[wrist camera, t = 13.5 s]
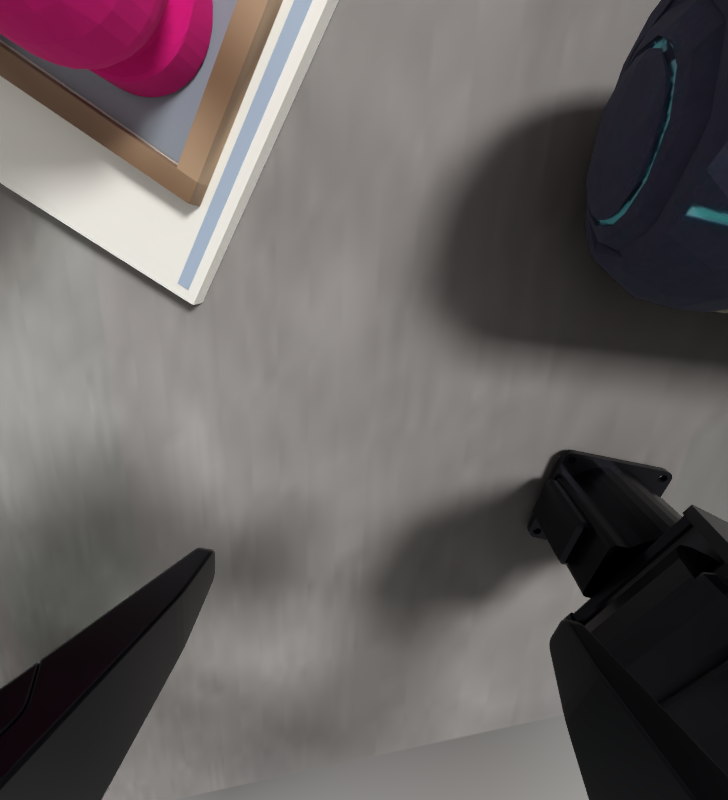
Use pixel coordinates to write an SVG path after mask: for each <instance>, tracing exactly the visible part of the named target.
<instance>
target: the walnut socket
mask: <svg viewBox="0 0 728 800" xmlns="http://www.w3.org/2000/svg"><path fill="white" fill-rule="evenodd" d="M282 2H283V0H237V3H236V5H235V8H234V11H233V14H232V17H231V19H230V22H229V25H228V28H227V30H226V33H225V36H224V39H223V41H222V44H221V47H220V50H219V52H218V55H217V58H216V61H215V63H214V66H213V69H212V72H211V74H210V77H209V80H208V83H207V85H206V88H205V91H204V94H203V97H202V99H201V102H200V105H199V108H198V110H197V113H196V116H195V119H194V121H193V124H192V127H191V130H190V132H189V135H188V138H187V141H186V143H185V146H184V149H183V152H182V154H181V157H180V160H179V163H178V165H177V164H175V163H174V162H173V161H171V160H170V159H168V158H167V157H165V156H164V155H162V154H161V153H160V152H158V151H157V150H155V149H154V148H152V147H151V146H149V145H148V144H147V143H145V142H144V141H142V140H141V139H139V138H138V137H137V136H135V135H134V134H132V133H131V132H129V131H128V130H126V129H125V128H124V127H122V126H121V125H119V124H118V123H116V122H115V121H114V120H112V119H111V118H109V117H108V116H106V115H105V114H103V113H102V112H101V111H99V110H98V109H96V108H95V107H93V106H92V105H90V104H89V103H88V102H86V101H85V100H83V99H82V98H80V97H79V96H78V95H76V94H75V93H73V92H72V91H70V90H69V89H67V88H66V87H65V86H63V85H62V84H60V83H59V82H57V81H56V80H54V79H53V78H52V77H50V76H49V75H47V74H46V73H44V72H43V71H42V70H40V69H39V68H37V67H36V66H34V65H33V64H31V63H30V62H29V61H27V60H26V59H24V58H23V57H21V56H20V55H19V54H17V53H16V52H14V51H13V50H11V49H10V48H8V47H7V46H6V45H4V44H3V43H1V42H0V76H1V77H3V78H4V79H6V80H7V81H9V82H10V83H12V84H13V85H15V86H16V87H18V88H19V89H21V90H22V91H23V92H25V93H26V94H28V95H29V96H31V97H32V98H34V99H35V100H37V101H38V102H40V103H41V104H43V105H44V106H46V107H47V108H48V109H50V110H51V111H53V112H54V113H56V114H57V115H59V116H60V117H62V118H63V119H65V120H66V121H68V122H69V123H71V124H72V125H73V126H75V127H76V128H78V129H79V130H81V131H82V132H84V133H85V134H87V135H88V136H90V137H91V138H93V139H94V140H96V141H97V142H98V143H100V144H101V145H103V146H104V147H106V148H107V149H109V150H110V151H112V152H113V153H115V154H116V155H118V156H119V157H121V158H122V159H123V160H125V161H126V162H128V163H129V164H131V165H132V166H134V167H135V168H137V169H138V170H140V171H141V172H143V173H144V174H146V175H147V176H148V177H150V178H151V179H153V180H154V181H156V182H157V183H159V184H160V185H162V186H163V187H165V188H166V189H168V190H169V191H171V192H172V193H173V194H175V195H176V196H178V197H179V198H181V199H182V200H184V201H185V202H187V203H188V204H191V205H195V206H199V207H200V206H201V203H202V201H203V198H204V196H205V193H206V191H207V188H208V186H209V183H210V181H211V178H212V176H213V173H214V171H215V168H216V166H217V163H218V161H219V158H220V156H221V153H222V151H223V148H224V146H225V144H226V141H227V139H228V136H229V134H230V131H231V129H232V126H233V124H234V121H235V119H236V116H237V114H238V111H239V109H240V106H241V104H242V101H243V99H244V96H245V94H246V91H247V89H248V86H249V84H250V81H251V79H252V76H253V74H254V71H255V69H256V66H257V64H258V62H259V59H260V57H261V54H262V52H263V49H264V47H265V44H266V42H267V39H268V37H269V34H270V32H271V29H272V27H273V24H274V22H275V19H276V17H277V14H278V12H279V9H280V7H281V4H282Z"/></svg>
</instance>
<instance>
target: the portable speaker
mask: <svg viewBox="0 0 728 800" xmlns="http://www.w3.org/2000/svg"><path fill="white" fill-rule="evenodd" d="M586 188H587V208H586V221H585V233H586V237H587V241H588V245H589V249H590V253H591V257H592V258H593V259H594V260H595V261H596V262H597V263H598V264H599V265H600V266H601V267H602V268H603V269H604V270H605V271H606V272H607V273H608V274H609V275H610V276H611V277H612V278H613V279H614V280H615V281H617V282H618V283H619V284H620V285H621V286H622V287H623V288H624V289H625V290H626V291H627V292H628V293H629V294H630V295H631V296H633V297H636V298H639V299H643V300H646V301H649V302H653V303H656V304H659V305H663V306H666V307H669V308H673V309H682V310H690V311H699V312H720V313H728V0H661V1H660V2H659V4H658V5H657V6H656V8H655V9H654V10H653V12H652V13H651V15H650V16H649V18H648V20H647V22H646V24H645V26H644V27H643V29H642V31H641V33H640V35H639V37H638V39H637V41H636V42H635V44H634V46H633V48H632V50H631V52H630V54H629V55H628V57H627V59H626V61H625V63H624V65H623V68H622V70H621V73H620V76H619V79H618V82H617V85H616V88H615V90H614V92H613V94H612V96H611V97H610V99H609V101H608V103H607V105H606V107H605V109H604V112H603V116H602V119H601V123H600V126H599V130H598V134H597V137H596V141H595V145H594V149H593V153H592V157H591V161H590V166H589V170H588V174H587V178H586Z"/></svg>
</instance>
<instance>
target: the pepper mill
mask: <svg viewBox="0 0 728 800" xmlns="http://www.w3.org/2000/svg"><path fill="white" fill-rule="evenodd" d="M212 26H213V1H212V0H0V34H1V35H3V36H4V37H6V38H7V39H9V40H10V41H12V42H14V43H15V44H17V45H18V46H20V47H22V48H23V49H25V50H26V51H28V52H30V53H31V54H33V55H35V56H37V57H39V58H42V59H44V60H46V61H49V62H51V63H54V64H56V65H60V66H64V67H68V68H72V69H89V70H90V71H92V72H93V73H95V74H97V75H98V76H100V77H102V78H103V79H105V80H107V81H108V82H110V83H111V84H113V85H115V86H116V87H118V88H120V89H122V90H124V91H126V92H128V93H131V94H133V95H137V96H142V97H161V96H164V95H167V94H171V93H174V92H176V91H177V90H179V89H180V88H182V87H183V86H185V85H186V84H187V83H188V82H189V81H190V80H191V79H192V78H193V77H194V76H195V74H196V73H197V71H198V69H199V67H200V66H201V64H202V62H203V60H204V58H205V56H206V55H207V51H208V47H209V44H210V39H211V33H212Z"/></svg>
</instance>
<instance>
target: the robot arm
mask: <svg viewBox="0 0 728 800" xmlns="http://www.w3.org/2000/svg"><path fill="white" fill-rule="evenodd" d="M570 457H573V458H572V460H570V461H567V460H568V459H569V458H570ZM660 476H662V477H660ZM659 477H660V478H659ZM671 479H672V475H671V474H670V473H669V472H668V471H667V470H666V469H663V468H660V467H655V466H650V465H645V464H640V463H634V462H629V461H624V460H619V459H614V458H609V457H604V456H599V455H594V454H589V453H584V452H579V451H574V450H567V451H564V452H563V453H562V454H561V455H560V458H559V460H558V462H557V464H556V466H555V468H554V470H553V472H552V475H551V477H550V479H549V480H548V481H547V482H546V484H545V486H544V488H543V490H542V493H541V495H540V497H539V499H538V501H537V503H536V505H535V508H534V510H533V515H532V517H531V519H530V521H529V523H528V526H527V529H528V531H529V533H530V535H531V536H533V537H537V538H542V539H547V540H548V541H549V543H550V545H551V547H552V549H553V551H554V553H555V554H556V556H557V558H558V560H559V561H560V563H561V564H565V565H567V567H568V569H569V570H570V572H571V574H572V576H573V578H574V579H575V581H576V583H577V585H578V586H579V588H580V590H581V592H582V594H583V595H584V596H585V597H589V598H590V599H589V600H588V601H587V602H586V603H585V604H584V605H583V606H581V607H580V608H579V609H578V610H577V611H576V612H575V613H570V614H569V615H568V616H567V617H566V618H564V620H562V621H561V622H560V624H559V625H558V627H557V629H556V630H555V632H554V634H553V635H552V637H551V639H550V652H551V657H552V662H553V666H554V671H555V676H556V680H557V685H558V690H559V694H560V699H561V704H562V708H563V713H564V717H565V721H566V724H567V728H568V731H569V735H570V738H571V742H572V745H573V748H574V752H575V754H576V758H577V761H578V765H579V768H580V771H581V775H582V778H583V781H584V784H585V787H586V791H587V794H588V797H589V800H728V522H726V521H724V520H722V519H720V518H718V517H716V516H714V515H712V514H710V513H708V512H706V511H704V510H702V509H700V508H698V507H696V506H694V505H691V506H690V507H689V508H688V509H687V510H685V511H684V512H683V514H684V516H683V517H682V516H681V515H679V514H678V513H677V512H676V511H675V510H674V509H673V508H672V507H671V506H670V505H668V504H667V503H666V502H665V501H664V500H663V499H662V498H661V496H662V494H663V492H664V491H665V489H666V488H667V486H668V485H669V483H670V481H671ZM536 528H538V529H536ZM534 529H536V530H534ZM214 574H215V552H214V551H213V550H211V549H206V548H197V549H195V550H194V551H192V552H191V553H189V554H188V555H187V556H185V557H184V558H183V559H181V560H180V561H178V562H177V563H176V564H174V565H173V566H171V567H170V568H169V569H167V570H166V571H164V572H163V573H162V574H160V575H159V576H157V577H156V578H155V579H153V580H152V581H150V582H149V583H148V584H146V585H145V586H143V587H142V588H141V589H139V590H138V591H136V592H135V593H134V594H132V595H131V596H129V597H128V598H127V599H125V600H124V601H123V602H121V603H120V604H118V605H117V606H116V607H114V608H113V609H111V610H110V611H109V612H107V613H106V614H104V615H103V616H102V617H100V618H99V619H97V620H96V621H95V622H93V623H92V624H90V625H89V626H88V627H86V628H85V629H83V630H82V631H81V632H79V633H78V634H76V635H75V636H74V637H72V638H71V639H69V640H68V641H67V642H65V643H64V644H62V645H61V646H60V647H58V648H57V649H56V650H54V651H53V652H51V653H50V654H49V655H47V656H46V657H44V658H43V659H42V660H41V661H40V664H39V663H36V664H34V665H33V666H32V667H30V668H29V669H27V670H26V671H25V672H23V673H22V674H20V675H19V676H18V677H16V678H15V679H13V680H12V681H10V682H9V683H8V684H6V685H5V686H3V687H2V688H0V800H102V798H103V796H104V794H105V792H106V791H107V789H108V787H109V785H110V783H111V781H112V780H113V778H114V776H115V774H116V772H117V770H118V768H119V767H120V765H121V763H122V761H123V759H124V757H125V756H126V754H127V752H128V750H129V748H130V746H131V745H132V743H133V741H134V739H135V737H136V735H137V734H138V732H139V730H140V728H141V726H142V724H143V723H144V721H145V719H146V717H147V715H148V713H149V712H150V710H151V708H152V706H153V704H154V702H155V701H156V699H157V697H158V695H159V693H160V691H161V690H162V688H163V686H164V684H165V682H166V680H167V679H168V677H169V675H170V673H171V671H172V669H173V668H174V666H175V664H176V662H177V660H178V658H179V656H180V655H181V653H182V651H183V649H184V647H185V645H186V642H187V640H188V638H189V636H190V633H191V631H192V629H193V626H194V624H195V622H196V619H197V617H198V615H199V612H200V610H201V608H202V605H203V603H204V601H205V598H206V596H207V594H208V591H209V589H210V586H211V584H212V582H213V578H214Z"/></svg>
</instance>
